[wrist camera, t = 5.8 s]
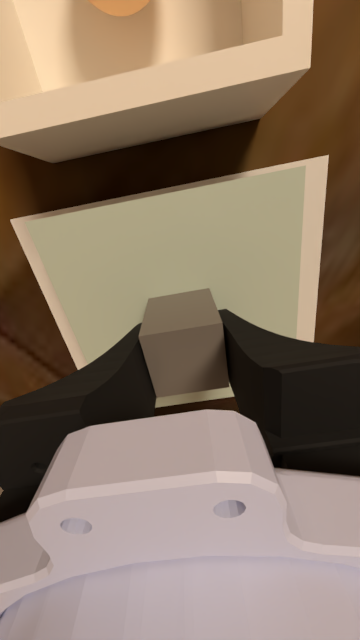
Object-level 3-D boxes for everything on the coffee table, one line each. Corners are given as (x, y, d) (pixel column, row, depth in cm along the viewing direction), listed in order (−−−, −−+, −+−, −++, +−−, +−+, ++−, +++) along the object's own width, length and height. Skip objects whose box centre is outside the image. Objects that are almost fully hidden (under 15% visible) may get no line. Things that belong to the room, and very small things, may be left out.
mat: (324, 156, 12) (328, 155, 11) (308, 369, 17) (311, 372, 17) (14, 219, 13) (9, 219, 12) (95, 400, 18) (93, 404, 18)
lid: (299, 166, 10) (375, 147, 6) (289, 381, 15) (327, 441, 11) (32, 220, 11) (-47, 233, 7) (111, 406, 16) (92, 471, 12)
